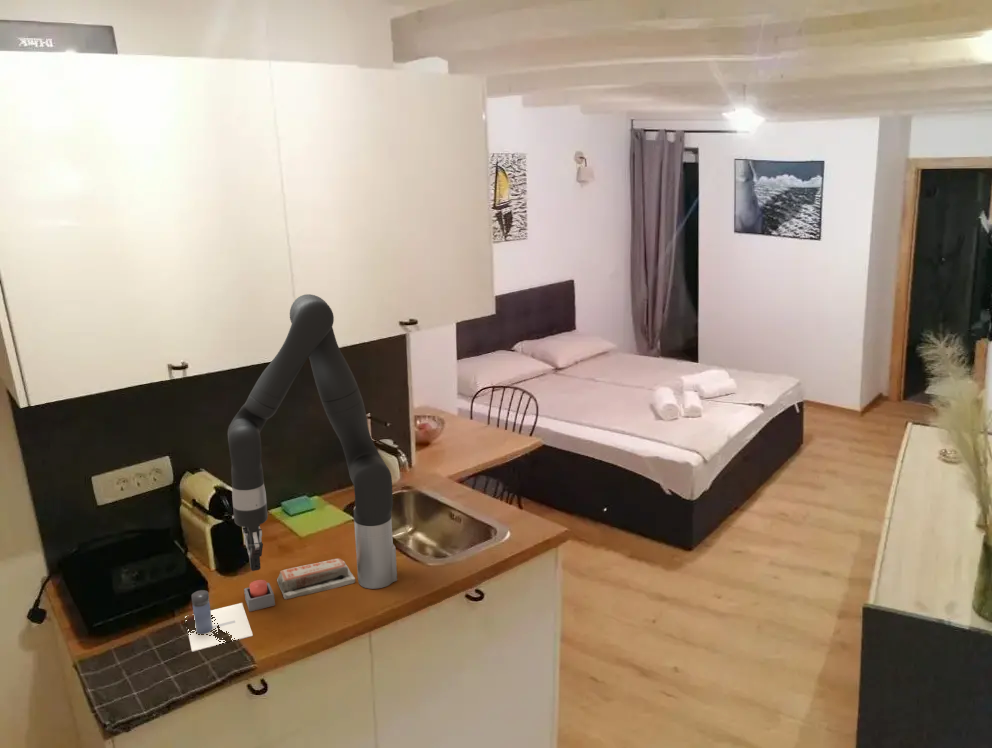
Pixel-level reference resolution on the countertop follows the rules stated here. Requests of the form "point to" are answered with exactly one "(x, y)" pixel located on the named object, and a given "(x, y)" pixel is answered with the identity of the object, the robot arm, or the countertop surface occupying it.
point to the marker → (202, 611)
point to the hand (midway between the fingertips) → (255, 568)
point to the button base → (259, 599)
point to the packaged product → (314, 578)
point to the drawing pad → (223, 627)
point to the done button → (258, 588)
